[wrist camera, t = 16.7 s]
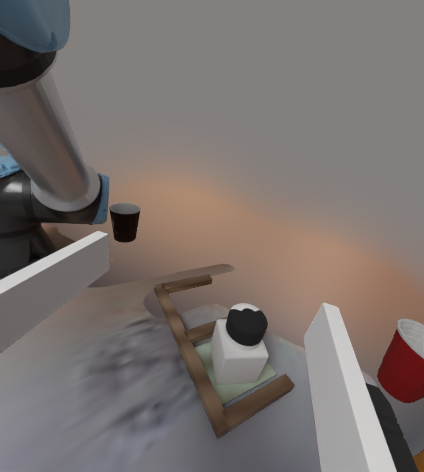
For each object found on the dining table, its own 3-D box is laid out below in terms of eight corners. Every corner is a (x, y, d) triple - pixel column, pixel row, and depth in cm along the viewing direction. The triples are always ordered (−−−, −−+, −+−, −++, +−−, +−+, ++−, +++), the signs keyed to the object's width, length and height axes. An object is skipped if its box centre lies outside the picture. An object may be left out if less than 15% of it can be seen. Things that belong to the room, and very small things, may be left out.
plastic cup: (449, 431, 35) (508, 389, 30) (380, 410, 36) (425, 366, 31) (407, 367, 45) (446, 327, 39) (354, 352, 46) (384, 310, 40)
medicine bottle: (257, 383, 36) (280, 334, 31) (215, 385, 34) (232, 335, 29) (245, 344, 42) (262, 298, 37) (209, 345, 41) (222, 297, 35)
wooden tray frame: (154, 290, 51) (154, 285, 50) (207, 279, 58) (208, 274, 58) (217, 438, 29) (219, 433, 28) (291, 390, 36) (294, 385, 35)
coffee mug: (114, 229, 72) (113, 201, 68) (141, 232, 74) (142, 205, 70) (103, 247, 62) (102, 216, 58) (134, 250, 64) (135, 219, 60)
